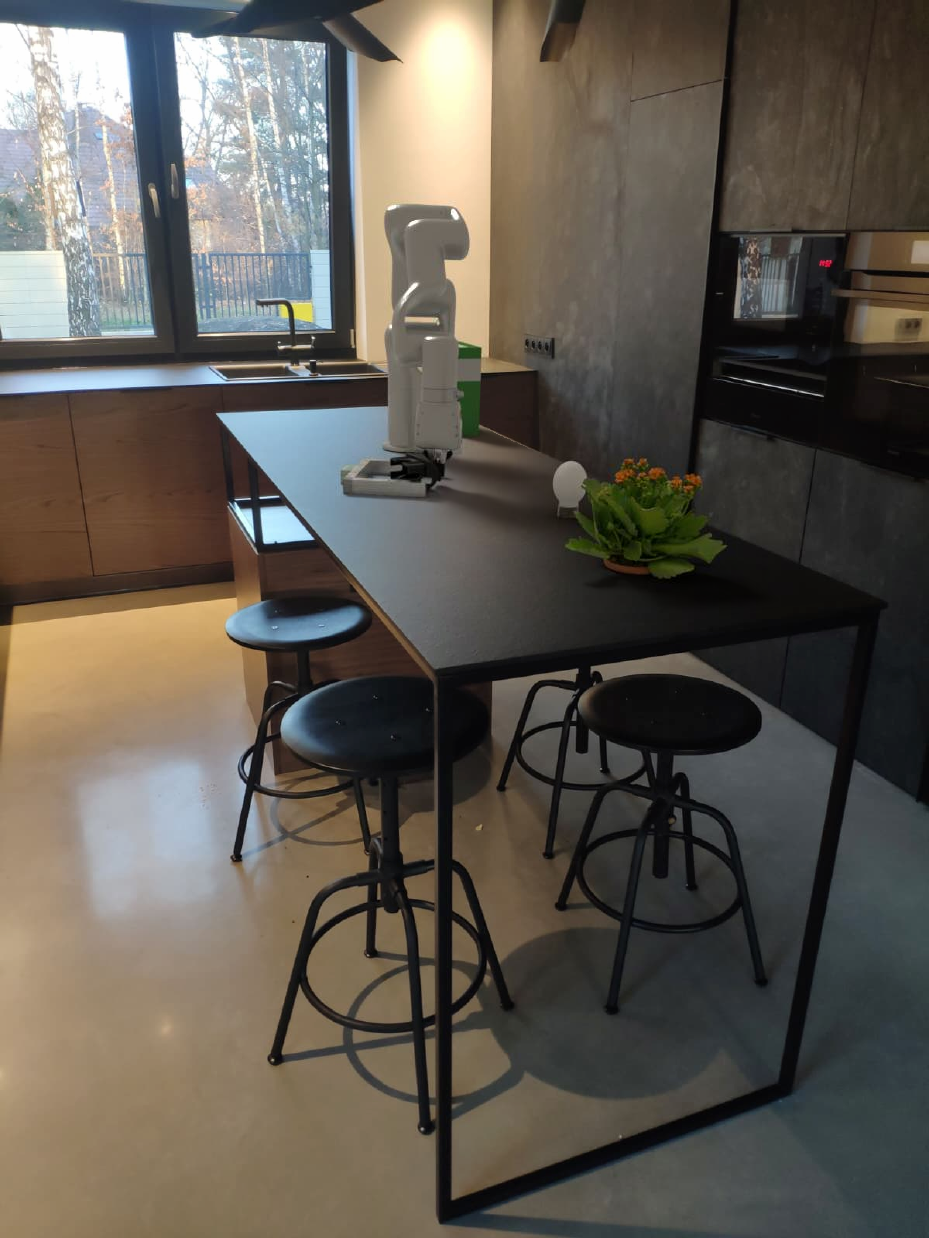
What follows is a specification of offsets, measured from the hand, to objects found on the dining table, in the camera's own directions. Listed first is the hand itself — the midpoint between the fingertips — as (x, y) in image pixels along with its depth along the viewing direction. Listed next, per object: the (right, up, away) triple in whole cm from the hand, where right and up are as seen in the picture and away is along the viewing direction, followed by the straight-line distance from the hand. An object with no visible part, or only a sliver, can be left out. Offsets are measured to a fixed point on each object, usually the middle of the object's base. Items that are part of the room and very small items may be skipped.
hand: (437, 480), depth 208 cm
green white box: (+4, +24, +66) cm, 70 cm away
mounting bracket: (-11, -1, +1) cm, 11 cm away
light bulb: (+26, -10, -21) cm, 35 cm away
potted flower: (+33, -22, -49) cm, 63 cm away
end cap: (-5, -2, -2) cm, 6 cm away
